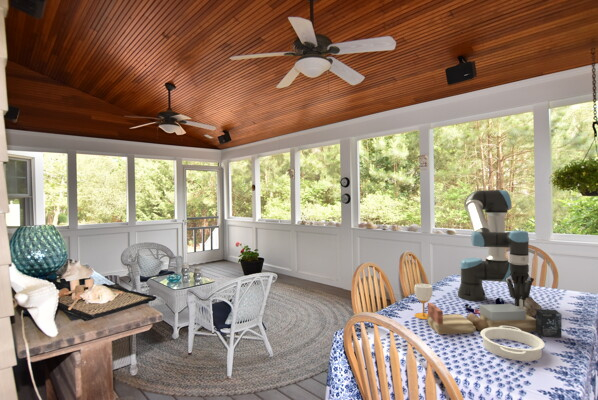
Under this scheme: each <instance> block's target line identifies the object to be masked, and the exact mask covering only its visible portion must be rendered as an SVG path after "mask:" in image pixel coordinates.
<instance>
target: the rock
mask: <svg viewBox="0 0 598 400" xmlns="http://www.w3.org/2000/svg"><path fill="white" fill-rule="evenodd" d="M536 309H542V305H540V304H539V303H538V302H537V301H535V300H534V298H533V297H532V296H529V298H526V300H524V306H523V310H524V311H526V315H528V316H530V317H532V318H533V317H536Z"/></svg>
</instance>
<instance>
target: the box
mask: <svg viewBox="0 0 598 400" xmlns="http://www.w3.org/2000/svg"><path fill="white" fill-rule="evenodd" d="M562 316H563V315H562V313H560V312H559V311H557V309H544V308H543V309H542V308H541V309H536V315H535V319H536V331H535V332H536V333H537V334H538V335H539V336H540V337H550V338H562V330H563V329H562Z"/></svg>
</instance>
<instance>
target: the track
mask: <svg viewBox="0 0 598 400" xmlns="http://www.w3.org/2000/svg"><path fill="white" fill-rule="evenodd" d="M427 314H428V320H427V325H429V327H431V328H432V330H433V331H435V332H436V334H438V335H446V334H447V335H449V334H451V335H452V334H453V335H454V334H455V335H456V334H474V332H476V330H477V329H476V327H475V326H473V323H472V322H470V321H469V320H468V319H466V318H467V317H465V316H463V315H462V314H461V313H452V314H451V313H450V314H446V313H445V314H444V311H443V310H442V309H440V308H439V307H438V306H437V305H435V304H434V303H433V302H427ZM479 318H480V319H482V320H484V321H485V322H487V323H488V325H489V328H490V327H499V326H512V327H516V328H519V329H520V330H521V331H524V332H536V318H534V317H533V316H532V317H530V316H528V315H526V320H502V321H491V320H490V319H488V318H486V317H485V316H483V315H482V314H480V313H479ZM504 328H511V327H504ZM512 329H515V328H512ZM517 330H518V329H517Z"/></svg>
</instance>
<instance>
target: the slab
mask: <svg viewBox="0 0 598 400" xmlns="http://www.w3.org/2000/svg"><path fill="white" fill-rule="evenodd" d="M478 307H479V308H478V309H479V315H480V314H482V315H483V316H485V317H486V318H488V319H490V320H491V321H502V320H526V311H524V310H522V309H520V308H518V307H516V306H515V304H512V303H504V304H503V303H501V304H499V303H498V304H479V306H478Z"/></svg>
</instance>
